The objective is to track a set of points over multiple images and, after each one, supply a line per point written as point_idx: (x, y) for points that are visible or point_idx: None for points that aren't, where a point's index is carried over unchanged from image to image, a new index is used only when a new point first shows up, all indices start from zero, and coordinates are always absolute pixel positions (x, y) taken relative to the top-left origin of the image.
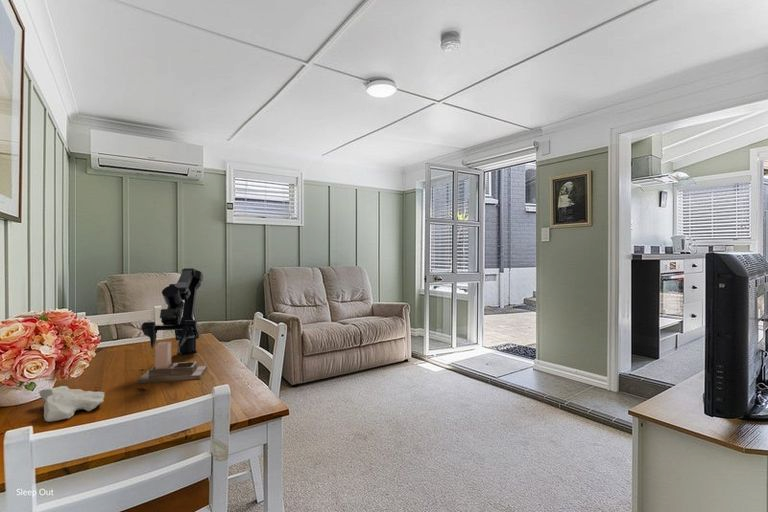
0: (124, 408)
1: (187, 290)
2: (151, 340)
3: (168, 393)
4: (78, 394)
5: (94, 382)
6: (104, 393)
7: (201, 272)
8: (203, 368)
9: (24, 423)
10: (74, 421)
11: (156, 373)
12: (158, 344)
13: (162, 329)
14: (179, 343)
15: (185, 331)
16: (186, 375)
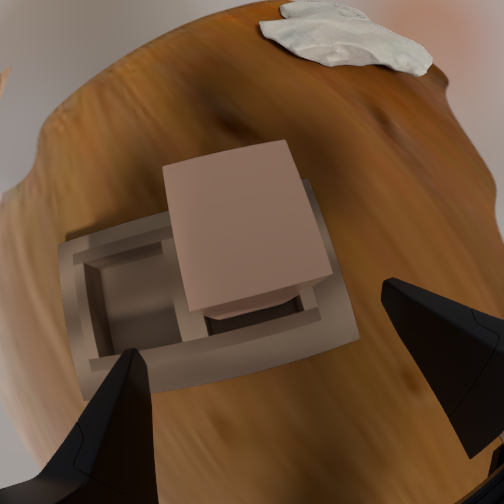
0: (200, 38)
1: None
2: (442, 301)
3: (127, 108)
4: (334, 30)
5: (460, 212)
6: (291, 48)
7: None
8: (76, 352)
9: None
10: (262, 10)
11: None
12: (262, 158)
13: (463, 499)
14: (128, 359)
15: (49, 480)
16: (107, 241)
